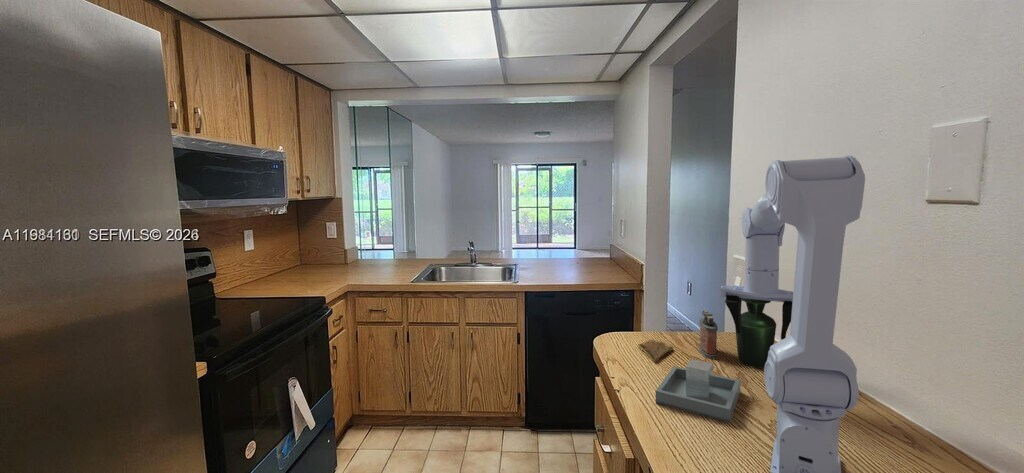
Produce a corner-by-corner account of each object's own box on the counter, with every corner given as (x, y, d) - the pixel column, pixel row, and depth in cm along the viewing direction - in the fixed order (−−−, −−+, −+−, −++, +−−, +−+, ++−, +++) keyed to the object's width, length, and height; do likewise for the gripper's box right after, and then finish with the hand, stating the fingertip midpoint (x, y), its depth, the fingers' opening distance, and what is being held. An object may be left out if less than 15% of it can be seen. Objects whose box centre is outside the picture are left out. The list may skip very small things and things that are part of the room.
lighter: (720, 359, 95) (720, 318, 94) (704, 358, 96) (705, 317, 95) (710, 346, 103) (710, 308, 102) (696, 345, 104) (696, 307, 103)
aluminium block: (708, 401, 76) (708, 371, 75) (686, 396, 78) (685, 366, 78) (712, 392, 79) (712, 363, 79) (690, 387, 82) (690, 359, 81)
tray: (729, 423, 70) (729, 409, 70) (655, 403, 77) (655, 390, 77) (740, 392, 80) (740, 380, 80) (674, 377, 87) (673, 366, 87)
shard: (654, 365, 94) (654, 358, 94) (625, 357, 100) (624, 350, 100) (674, 351, 102) (674, 344, 102) (646, 344, 107) (645, 337, 107)
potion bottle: (768, 373, 87) (770, 291, 85) (728, 362, 93) (729, 286, 91) (780, 361, 92) (782, 284, 90) (742, 352, 98) (743, 279, 96)
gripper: (807, 267, 79) (805, 334, 80) (724, 262, 88) (723, 323, 89) (806, 274, 73) (804, 346, 75) (718, 268, 82) (717, 333, 83)
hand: (760, 334), depth 82 cm, fingers open, 7 cm apart
